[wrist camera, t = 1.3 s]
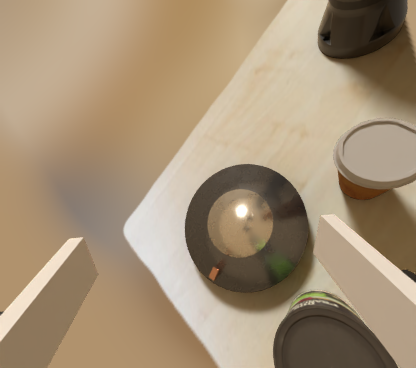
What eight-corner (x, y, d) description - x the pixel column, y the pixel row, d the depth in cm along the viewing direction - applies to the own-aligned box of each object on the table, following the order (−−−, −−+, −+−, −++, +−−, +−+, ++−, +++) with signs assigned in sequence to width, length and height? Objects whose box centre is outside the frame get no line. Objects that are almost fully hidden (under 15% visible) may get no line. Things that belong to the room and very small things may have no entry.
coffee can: (276, 300, 34) (256, 321, 22) (338, 280, 31) (353, 291, 19) (309, 379, 29) (306, 461, 17) (386, 364, 26) (447, 448, 14)
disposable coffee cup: (410, 201, 30) (459, 171, 20) (339, 214, 34) (350, 194, 24) (381, 149, 34) (409, 102, 24) (320, 166, 38) (323, 131, 28)
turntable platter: (216, 156, 47) (213, 152, 45) (329, 187, 34) (330, 183, 32) (171, 250, 44) (165, 249, 42) (276, 323, 31) (273, 327, 29)
